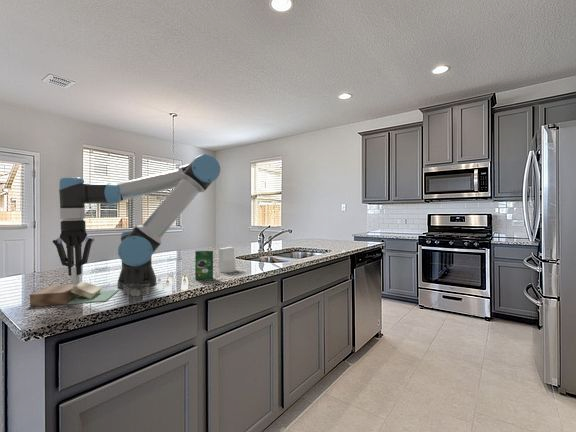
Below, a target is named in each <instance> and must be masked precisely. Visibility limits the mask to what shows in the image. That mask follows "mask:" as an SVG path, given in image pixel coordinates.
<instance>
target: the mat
mask: <svg viewBox="0 0 576 432" xmlns="http://www.w3.org/2000/svg"><path fill="white" fill-rule="evenodd" d="M119 291H120V289H106V290H101V291H100V293H98V294H97V295H96V296H94V297H93V298H91V299H89V298H86V297H84V296H81V295H80V296H78V297H76V298H75V299H73V300H72V301H70V302H69V303H67V304H66V305H77V304H79V305H80V304H89V303H90V304H91V303H102V302H103V303H104V302H107V301H108V300H109V299H111V298H112V297H113V296H114V295H115V294H117V293H118V292H119Z"/></svg>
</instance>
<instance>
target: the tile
mask: <svg viewBox="0 0 576 432" xmlns="http://www.w3.org/2000/svg"><path fill="white" fill-rule="evenodd" d="M100 291H102V287H101V286H98V285H94V284H91V283H90V282H85V281H84V280H83V281H81V282H79V284H77V285H75V286H74V287H73V288H72V290H71V292H72V293H75V294H78V295H81V296H84V297H86V298H89V299H91V298H93V297H94V296H96V295H97V294H98V293H100Z"/></svg>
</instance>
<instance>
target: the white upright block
mask: <svg viewBox="0 0 576 432" xmlns="http://www.w3.org/2000/svg"><path fill="white" fill-rule="evenodd" d="M236 267H237V266H236V258H235V247H234V246H227V247H221V248H218V259H217V272H218V273H223V274H224V273H233V272H236Z"/></svg>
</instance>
